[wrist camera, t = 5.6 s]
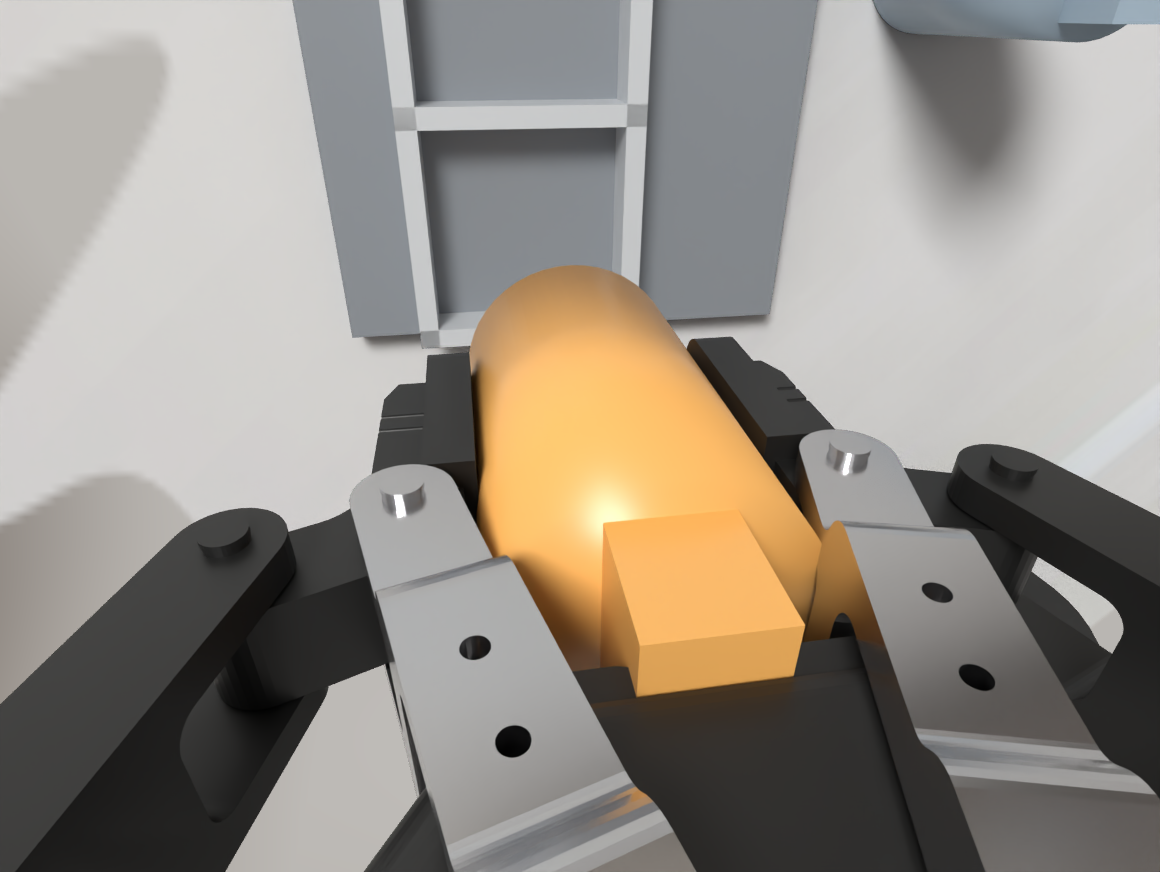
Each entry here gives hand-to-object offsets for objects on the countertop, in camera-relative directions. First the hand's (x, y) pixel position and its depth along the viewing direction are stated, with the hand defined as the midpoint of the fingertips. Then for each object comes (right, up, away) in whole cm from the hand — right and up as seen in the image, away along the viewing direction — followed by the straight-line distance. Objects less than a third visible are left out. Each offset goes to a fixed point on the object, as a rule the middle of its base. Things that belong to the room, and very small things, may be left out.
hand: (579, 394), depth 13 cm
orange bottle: (0, +1, +1) cm, 1 cm away
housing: (0, +10, +9) cm, 14 cm away
